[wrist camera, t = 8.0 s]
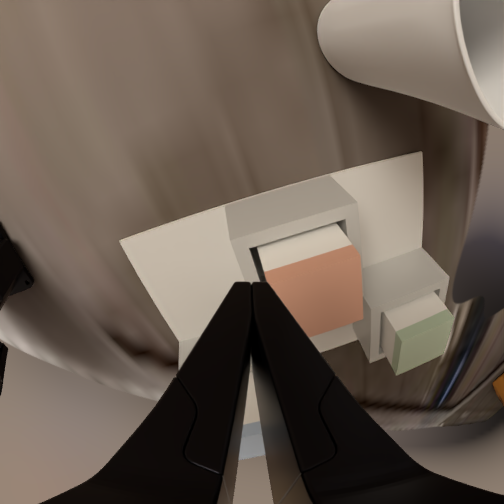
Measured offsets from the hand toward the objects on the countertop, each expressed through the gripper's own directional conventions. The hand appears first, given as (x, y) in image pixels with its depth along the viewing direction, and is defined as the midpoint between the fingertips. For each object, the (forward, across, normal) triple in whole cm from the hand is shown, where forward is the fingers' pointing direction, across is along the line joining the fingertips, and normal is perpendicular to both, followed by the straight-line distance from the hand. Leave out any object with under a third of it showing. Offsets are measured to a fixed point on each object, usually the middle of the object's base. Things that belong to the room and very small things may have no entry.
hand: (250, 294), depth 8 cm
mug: (+14, -8, -9) cm, 18 cm away
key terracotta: (+11, -3, +6) cm, 13 cm away
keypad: (+12, -4, +11) cm, 17 cm away
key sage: (+12, -13, +12) cm, 21 cm away
